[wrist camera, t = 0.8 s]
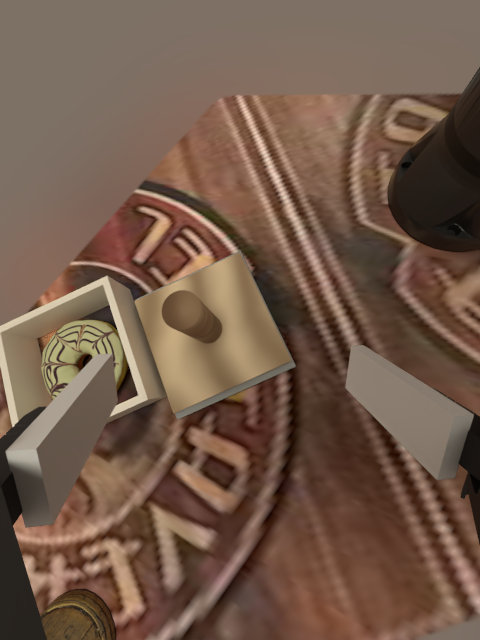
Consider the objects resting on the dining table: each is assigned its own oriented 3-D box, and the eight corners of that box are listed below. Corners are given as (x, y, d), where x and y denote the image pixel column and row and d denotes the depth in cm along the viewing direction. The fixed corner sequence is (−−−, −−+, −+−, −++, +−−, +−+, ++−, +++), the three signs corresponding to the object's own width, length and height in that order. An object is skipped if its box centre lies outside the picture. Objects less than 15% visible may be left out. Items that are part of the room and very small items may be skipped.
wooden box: (129, 289, 36) (107, 275, 31) (167, 396, 32) (148, 399, 27) (30, 335, 36) (-7, 329, 31) (56, 446, 33) (18, 458, 28)
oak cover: (240, 256, 34) (226, 204, 24) (291, 361, 31) (299, 353, 20) (138, 303, 35) (81, 273, 24) (177, 412, 31) (129, 430, 21)
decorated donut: (53, 406, 34) (26, 410, 30) (65, 324, 36) (41, 318, 33) (129, 408, 33) (111, 412, 29) (137, 322, 35) (121, 316, 31)
